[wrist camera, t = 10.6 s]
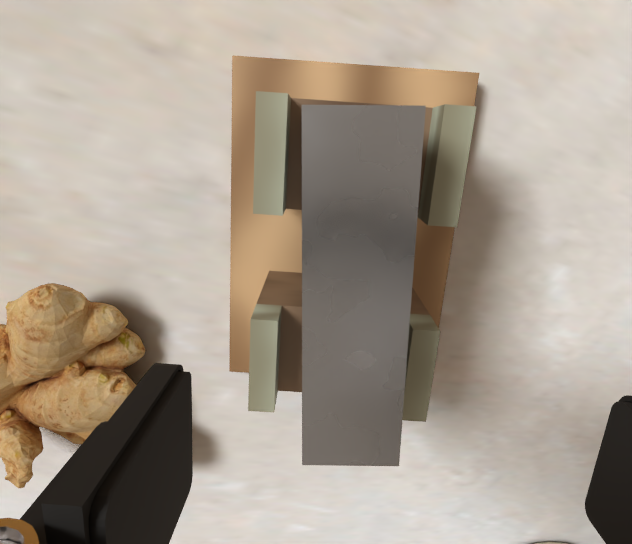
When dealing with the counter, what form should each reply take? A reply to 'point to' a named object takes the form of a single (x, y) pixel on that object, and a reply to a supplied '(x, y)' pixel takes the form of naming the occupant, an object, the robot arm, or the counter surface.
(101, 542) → the robot arm
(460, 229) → the counter surface
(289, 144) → the post rig
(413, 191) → the bracket bar
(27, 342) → the ginger root
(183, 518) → the counter surface
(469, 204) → the counter surface
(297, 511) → the counter surface
